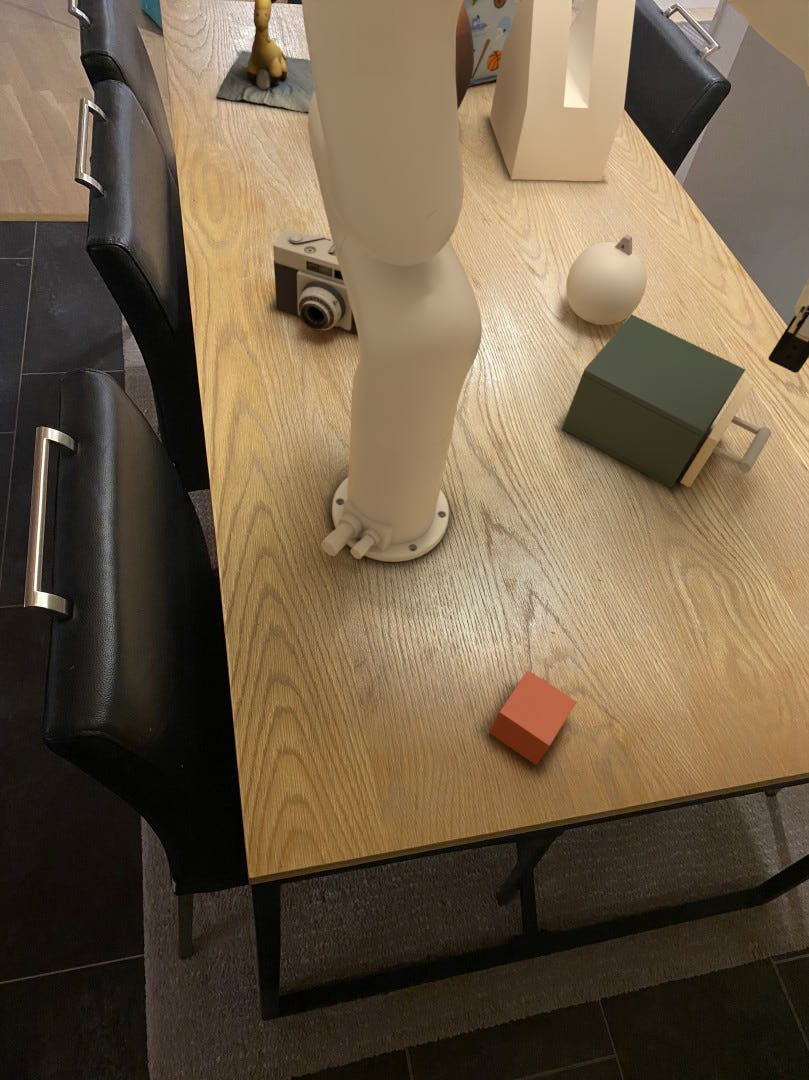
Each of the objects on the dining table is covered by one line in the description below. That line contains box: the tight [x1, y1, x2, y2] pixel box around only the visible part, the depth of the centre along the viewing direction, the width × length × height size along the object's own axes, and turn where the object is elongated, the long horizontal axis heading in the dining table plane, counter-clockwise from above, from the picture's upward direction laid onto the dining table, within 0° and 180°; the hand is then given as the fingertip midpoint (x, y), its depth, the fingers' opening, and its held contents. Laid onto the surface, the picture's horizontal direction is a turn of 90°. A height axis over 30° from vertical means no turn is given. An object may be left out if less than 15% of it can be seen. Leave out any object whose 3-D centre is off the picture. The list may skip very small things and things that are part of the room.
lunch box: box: [462, 0, 521, 87], centre depth 136 cm, size 28×10×22 cm, turn 125°
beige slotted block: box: [489, 0, 637, 182], centre depth 120 cm, size 19×15×25 cm
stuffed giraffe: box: [215, 0, 315, 113], centre depth 129 cm, size 16×18×16 cm
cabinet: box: [561, 314, 746, 489], centre depth 89 cm, size 15×13×10 cm
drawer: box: [680, 379, 772, 488], centre depth 88 cm, size 18×11×8 cm, turn 55°
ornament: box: [565, 234, 648, 326], centre depth 100 cm, size 10×10×12 cm
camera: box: [272, 227, 358, 335], centre depth 95 cm, size 14×8×10 cm, turn 70°
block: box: [489, 669, 577, 766], centre depth 68 cm, size 5×5×5 cm
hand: (786, 359), depth 77 cm, fingers closed
